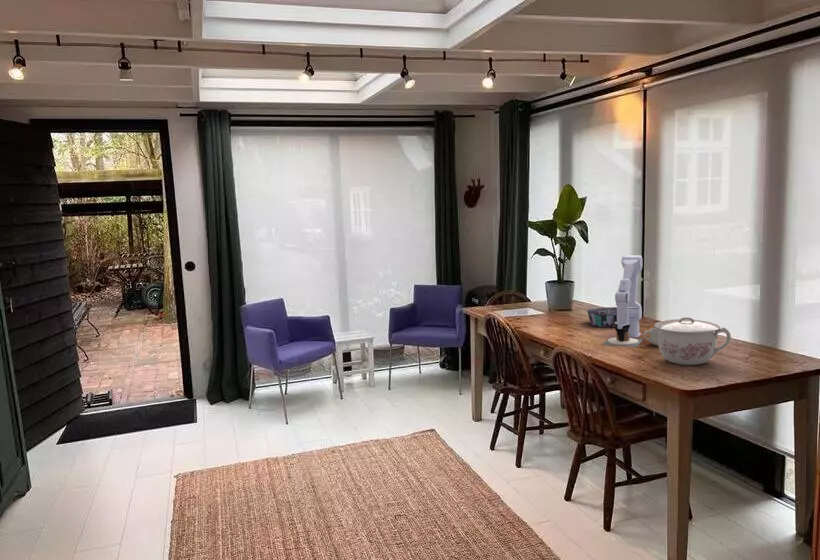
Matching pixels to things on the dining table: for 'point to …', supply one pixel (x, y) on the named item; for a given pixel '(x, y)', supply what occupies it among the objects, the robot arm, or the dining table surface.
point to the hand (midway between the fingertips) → (622, 339)
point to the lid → (626, 341)
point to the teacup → (652, 335)
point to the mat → (623, 345)
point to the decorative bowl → (603, 316)
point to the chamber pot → (689, 340)
